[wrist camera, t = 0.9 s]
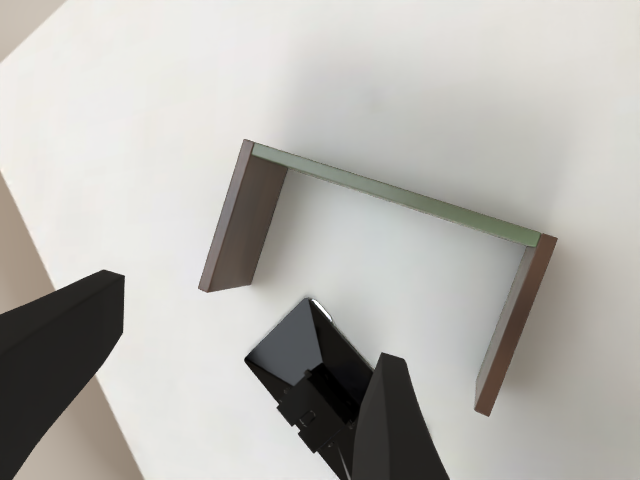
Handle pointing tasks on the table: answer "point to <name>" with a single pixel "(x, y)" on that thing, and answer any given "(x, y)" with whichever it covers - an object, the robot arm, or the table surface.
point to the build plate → (315, 381)
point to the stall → (271, 166)
